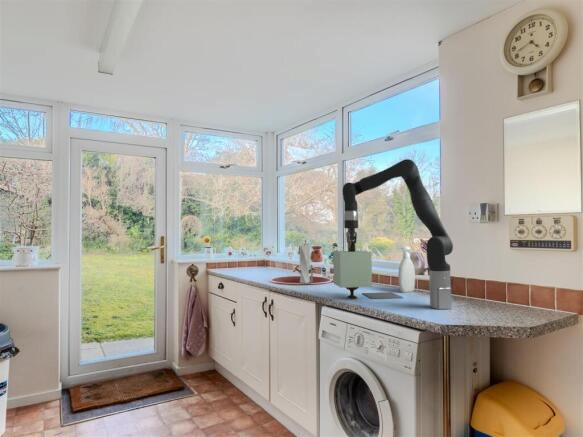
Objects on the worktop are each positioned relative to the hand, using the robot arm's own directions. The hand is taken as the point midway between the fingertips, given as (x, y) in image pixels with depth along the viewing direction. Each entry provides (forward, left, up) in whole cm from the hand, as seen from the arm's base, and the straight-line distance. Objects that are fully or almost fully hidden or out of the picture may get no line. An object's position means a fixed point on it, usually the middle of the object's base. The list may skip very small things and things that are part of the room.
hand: (351, 251), depth 207 cm
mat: (+4, -18, -25) cm, 31 cm away
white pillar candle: (+64, +16, -25) cm, 71 cm away
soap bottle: (+16, -37, -25) cm, 48 cm away
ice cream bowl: (0, 0, -25) cm, 25 cm away
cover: (0, 0, -18) cm, 18 cm away
